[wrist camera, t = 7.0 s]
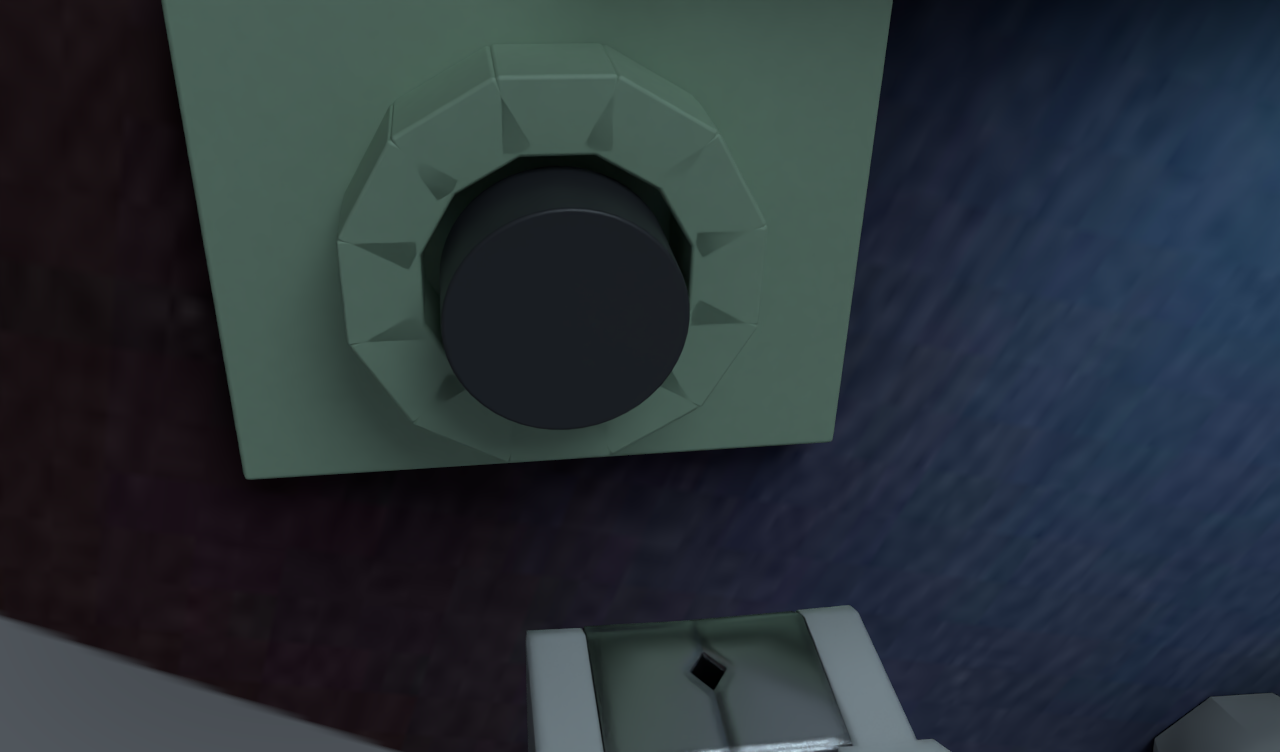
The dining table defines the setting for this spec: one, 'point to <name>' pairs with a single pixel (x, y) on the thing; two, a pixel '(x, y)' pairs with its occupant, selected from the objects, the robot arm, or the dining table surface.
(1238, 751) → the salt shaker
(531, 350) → the tare button
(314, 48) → the green dial panel
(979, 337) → the dining table surface
